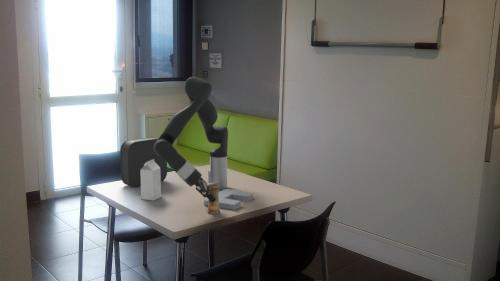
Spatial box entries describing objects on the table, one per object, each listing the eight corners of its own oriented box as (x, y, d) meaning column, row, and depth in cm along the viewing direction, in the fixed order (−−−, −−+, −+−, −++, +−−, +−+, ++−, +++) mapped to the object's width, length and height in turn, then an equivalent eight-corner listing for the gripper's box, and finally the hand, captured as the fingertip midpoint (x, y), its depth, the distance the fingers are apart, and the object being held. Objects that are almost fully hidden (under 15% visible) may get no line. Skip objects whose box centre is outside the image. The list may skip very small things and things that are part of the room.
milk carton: (161, 197, 239) (160, 159, 236) (153, 201, 233) (152, 162, 230) (148, 195, 242) (147, 158, 238) (141, 199, 235) (140, 161, 232)
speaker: (128, 189, 252) (127, 142, 248) (119, 186, 258) (118, 140, 254) (167, 181, 270) (166, 137, 266) (158, 178, 276) (157, 135, 272)
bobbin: (205, 213, 216) (204, 185, 214) (211, 209, 221) (211, 182, 219) (215, 214, 214) (215, 186, 211) (221, 211, 219) (221, 183, 216)
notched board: (204, 205, 227) (204, 200, 227) (225, 193, 247) (225, 188, 246) (234, 210, 221) (234, 204, 220) (253, 197, 240) (253, 192, 240)
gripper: (193, 171, 206) (220, 197, 209) (195, 164, 220) (220, 188, 223) (181, 183, 207) (208, 209, 209) (184, 175, 221) (209, 199, 223)
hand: (214, 198), depth 216 cm, fingers open, 8 cm apart
